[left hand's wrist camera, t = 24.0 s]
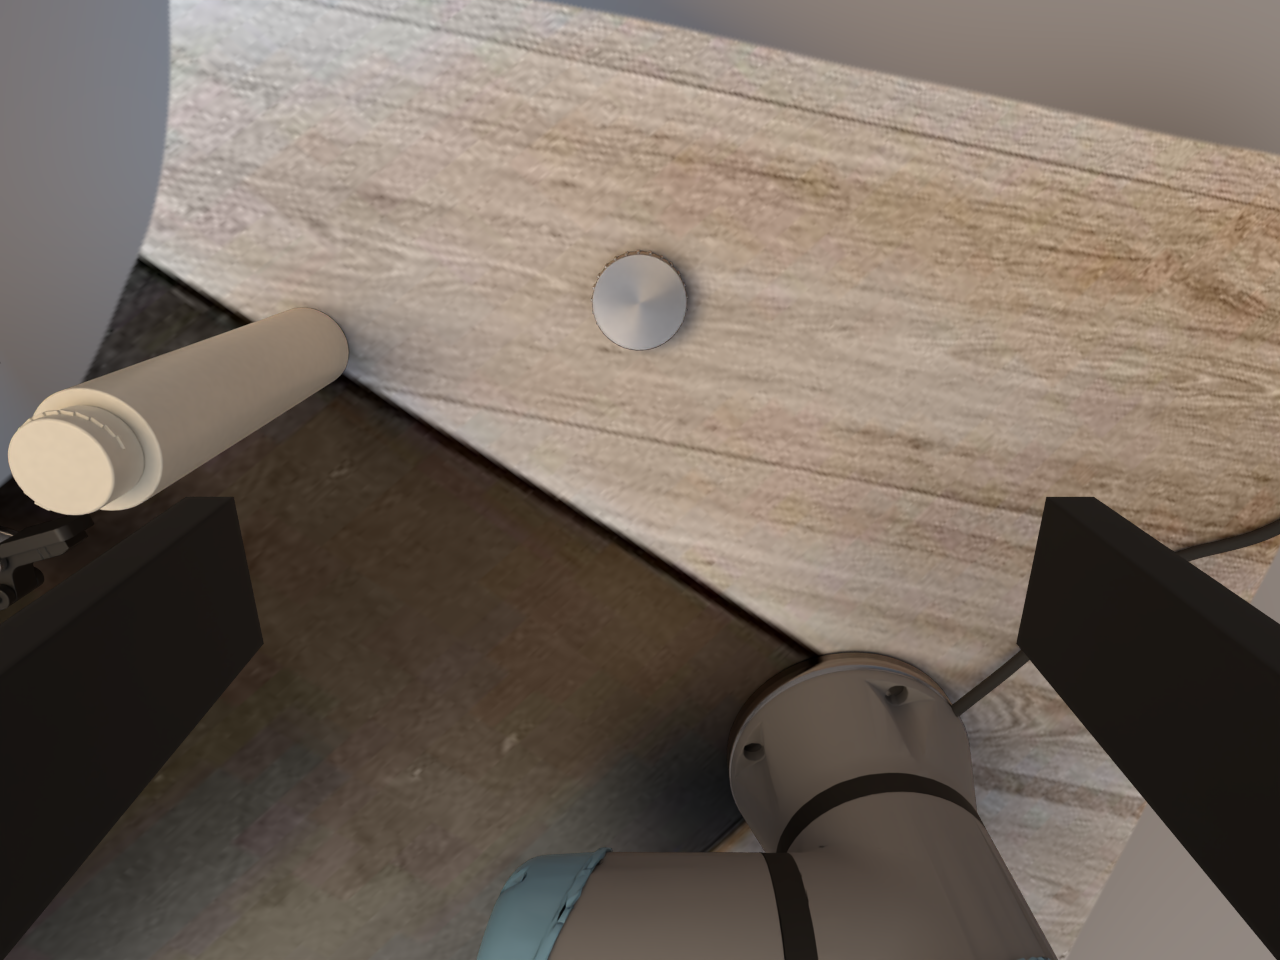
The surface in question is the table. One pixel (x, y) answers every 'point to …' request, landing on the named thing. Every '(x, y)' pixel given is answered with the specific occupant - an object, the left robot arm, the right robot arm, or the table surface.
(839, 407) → the table surface
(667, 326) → the lid
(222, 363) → the beige cylindrical rod
